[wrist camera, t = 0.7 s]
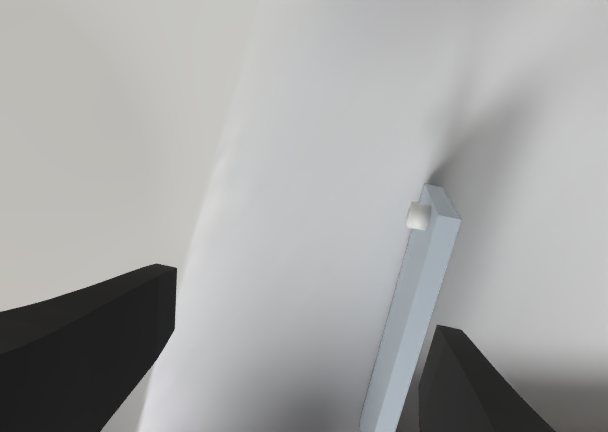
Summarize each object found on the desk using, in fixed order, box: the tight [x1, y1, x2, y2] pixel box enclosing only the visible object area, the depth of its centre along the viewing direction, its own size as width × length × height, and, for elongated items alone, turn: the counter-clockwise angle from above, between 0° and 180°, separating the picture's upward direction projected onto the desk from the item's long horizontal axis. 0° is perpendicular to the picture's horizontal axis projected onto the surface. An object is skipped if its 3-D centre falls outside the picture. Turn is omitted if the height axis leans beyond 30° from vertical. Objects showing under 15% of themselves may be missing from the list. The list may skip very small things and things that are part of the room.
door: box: [359, 184, 462, 432], centre depth 19 cm, size 14×2×5 cm, turn 170°
